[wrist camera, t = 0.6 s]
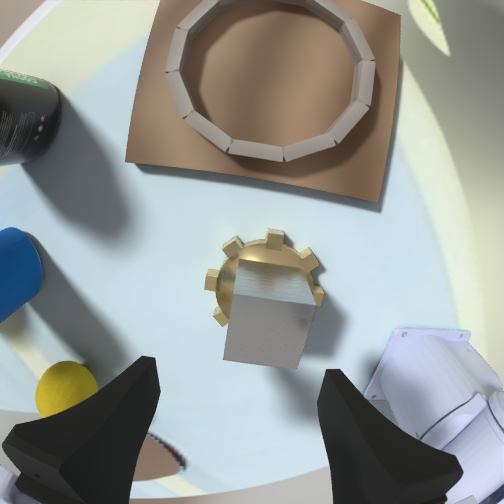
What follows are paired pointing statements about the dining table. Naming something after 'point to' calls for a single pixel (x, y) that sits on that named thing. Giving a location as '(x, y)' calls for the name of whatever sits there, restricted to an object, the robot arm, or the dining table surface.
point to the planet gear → (265, 300)
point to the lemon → (64, 387)
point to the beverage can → (17, 271)
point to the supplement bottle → (26, 117)
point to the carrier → (270, 91)
